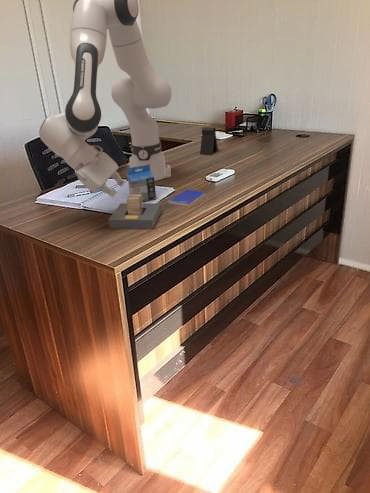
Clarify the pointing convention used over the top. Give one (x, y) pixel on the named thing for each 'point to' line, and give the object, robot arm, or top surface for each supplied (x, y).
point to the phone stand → (208, 141)
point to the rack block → (135, 217)
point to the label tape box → (141, 182)
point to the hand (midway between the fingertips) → (119, 189)
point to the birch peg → (134, 205)
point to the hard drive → (186, 197)
